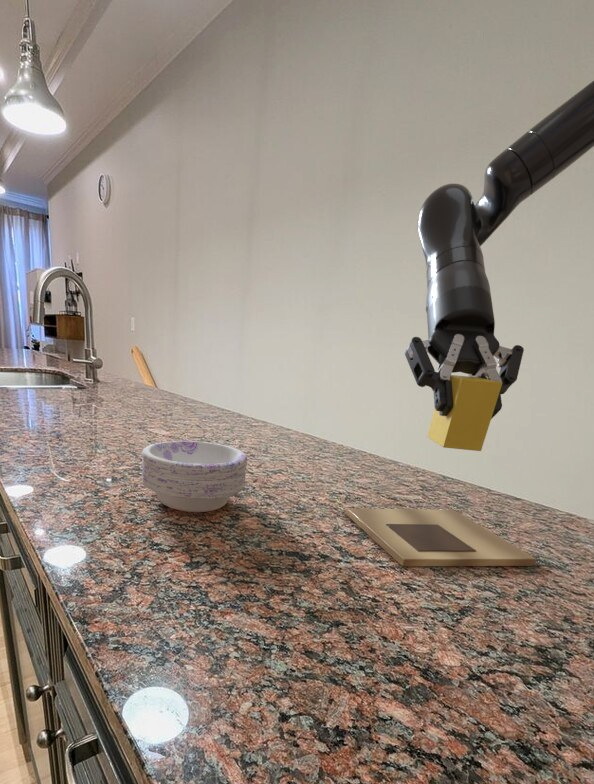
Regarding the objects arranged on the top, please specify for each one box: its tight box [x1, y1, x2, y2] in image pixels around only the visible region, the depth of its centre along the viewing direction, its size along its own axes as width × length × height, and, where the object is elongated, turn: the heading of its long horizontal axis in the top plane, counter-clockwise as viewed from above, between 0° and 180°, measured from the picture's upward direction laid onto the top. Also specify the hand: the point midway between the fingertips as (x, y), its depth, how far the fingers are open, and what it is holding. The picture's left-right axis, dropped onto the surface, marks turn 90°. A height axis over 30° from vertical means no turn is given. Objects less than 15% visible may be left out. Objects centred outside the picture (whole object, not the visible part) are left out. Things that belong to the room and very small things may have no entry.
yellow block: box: [426, 374, 502, 452], centre depth 55 cm, size 4×6×8 cm
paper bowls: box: [141, 440, 248, 513], centre depth 66 cm, size 15×15×8 cm
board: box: [345, 507, 538, 567], centre depth 61 cm, size 18×16×1 cm
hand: (468, 413), depth 53 cm, fingers closed on yellow block, 4 cm apart
